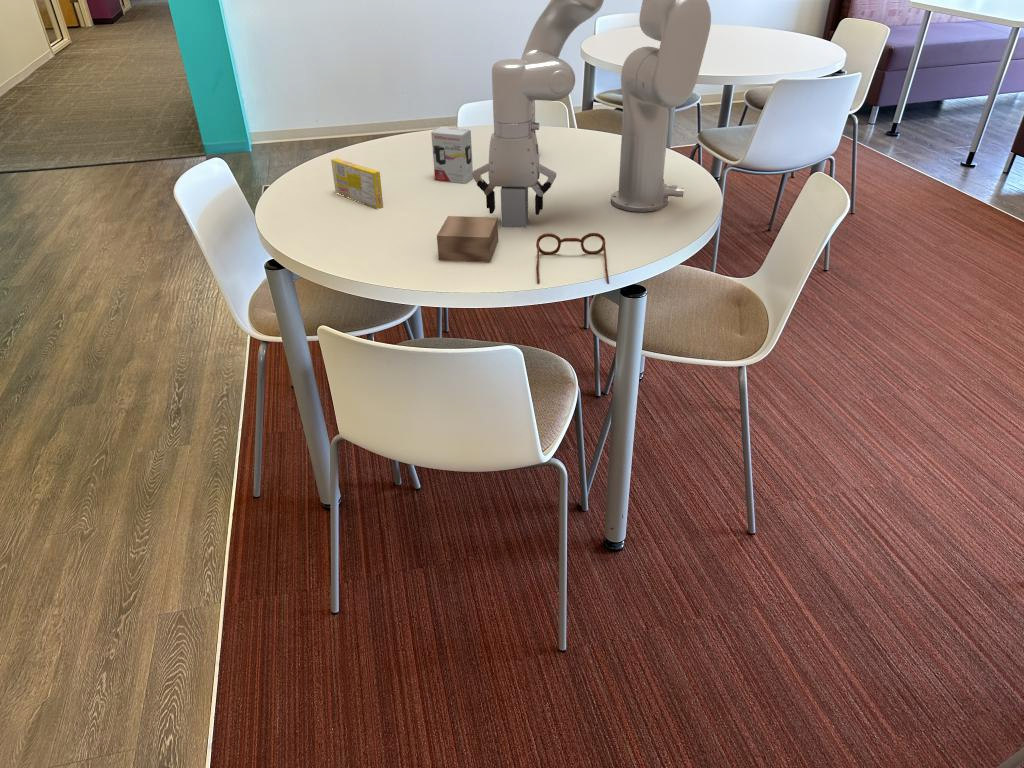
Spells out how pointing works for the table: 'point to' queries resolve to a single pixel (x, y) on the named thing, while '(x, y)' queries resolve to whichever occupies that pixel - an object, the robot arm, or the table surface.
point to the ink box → (452, 154)
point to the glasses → (571, 241)
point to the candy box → (357, 182)
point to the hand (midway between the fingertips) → (514, 212)
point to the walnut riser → (468, 239)
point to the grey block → (514, 206)
